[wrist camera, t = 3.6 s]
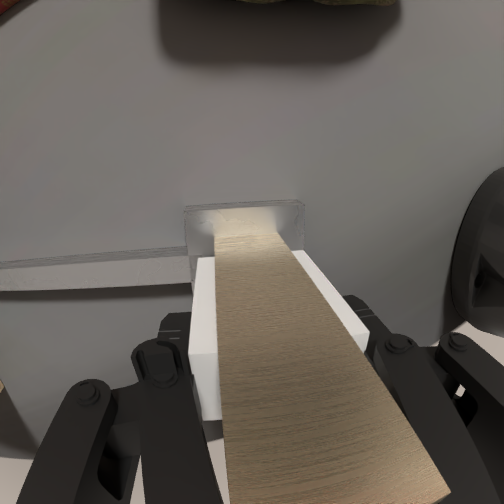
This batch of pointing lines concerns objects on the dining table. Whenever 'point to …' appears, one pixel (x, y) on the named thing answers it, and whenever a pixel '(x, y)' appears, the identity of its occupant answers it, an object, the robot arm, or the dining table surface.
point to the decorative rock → (335, 2)
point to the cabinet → (1, 386)
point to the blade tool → (273, 362)
